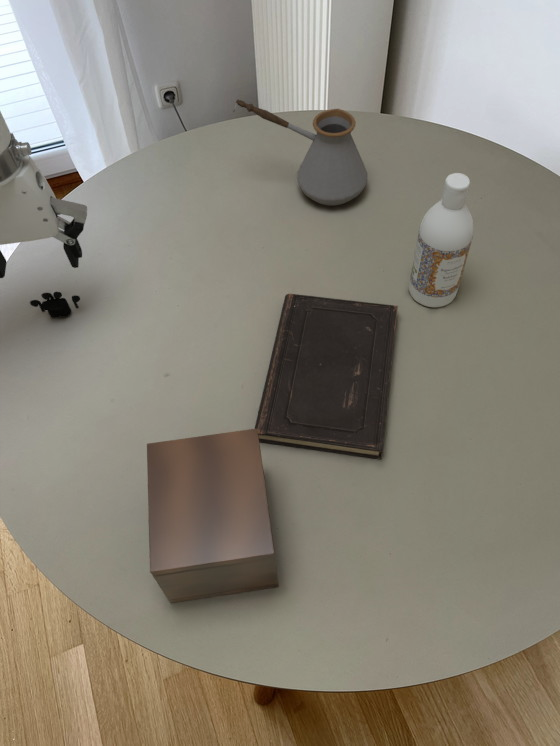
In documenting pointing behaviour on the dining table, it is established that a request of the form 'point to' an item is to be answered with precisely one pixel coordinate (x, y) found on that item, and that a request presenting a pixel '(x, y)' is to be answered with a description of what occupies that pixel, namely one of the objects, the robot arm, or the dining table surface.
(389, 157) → the dining table surface
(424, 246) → the bath foam
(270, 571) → the bronze lidded case
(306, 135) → the coffee pot
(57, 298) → the wireless earbuds
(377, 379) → the hardcover book
